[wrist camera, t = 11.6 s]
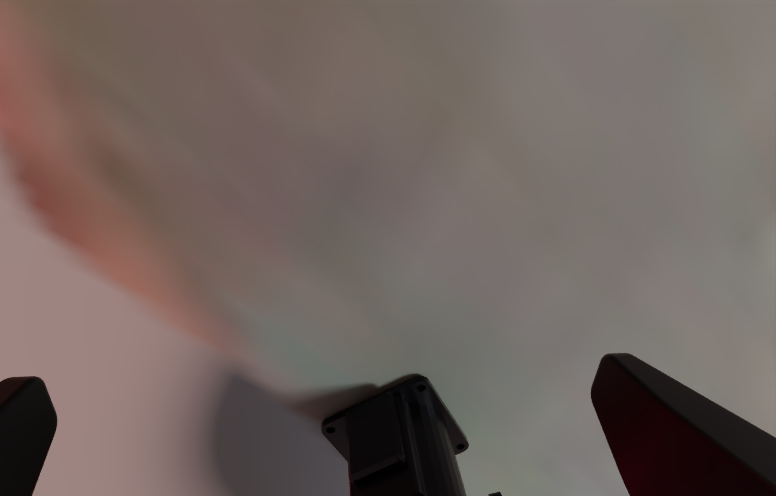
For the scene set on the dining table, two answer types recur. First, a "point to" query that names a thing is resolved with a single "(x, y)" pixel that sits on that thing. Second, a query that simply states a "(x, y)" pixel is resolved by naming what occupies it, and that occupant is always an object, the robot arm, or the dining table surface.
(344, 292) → the dining table surface
